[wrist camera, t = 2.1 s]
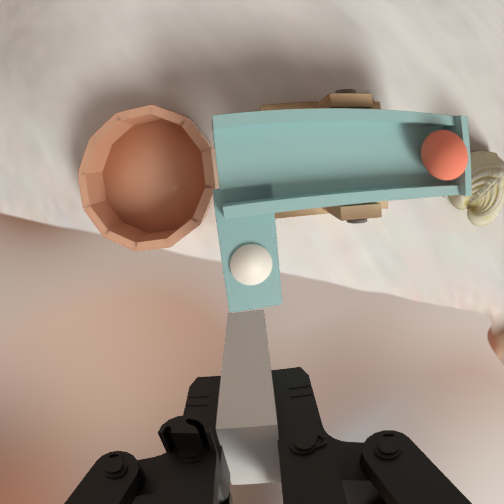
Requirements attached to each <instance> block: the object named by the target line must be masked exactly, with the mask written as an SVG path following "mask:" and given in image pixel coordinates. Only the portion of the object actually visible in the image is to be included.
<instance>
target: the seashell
mask: <svg viewBox="0 0 504 504" xmlns="http://www.w3.org/2000/svg"><path fill="white" fill-rule="evenodd" d="M470 157H471V184H472V196H463V195H451V196H448V198H449V200H450V202H451V203H452V205H453V206H455V207H456V208H457V209H460V210H464V209H467V208H468V211H467V216H468V219H469V220H470V222H471V223H472V224H474V225H476V226H486V225H488V224H489V223H491V222H492V221H493V220H494V219H495V218H496V217H497V215H498V214H499V212H500V210H501V207H502V205H503V203H504V162H503V160H502V159H501V158H500V157H498V155H497V154H496V153H494V152H488V151H487V152H485V151H474V152H471V153H470Z"/></svg>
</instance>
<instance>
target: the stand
mask: <svg viewBox="0 0 504 504" xmlns="http://www.w3.org/2000/svg"><path fill="white" fill-rule="evenodd" d="M260 107H261V111H268V110H286V109H318V108H348V109H380V102H373V101H372V94H358V93H356V90H352V89H344V90H338V91H335V93H330V94H328V95H327V96H326V97H325V98H323V99H322V100H321V101H320V102H300V103H283V104H269V105H261V106H260ZM380 110H381V109H380ZM385 208H388V201H379V202H369V203H359V204H349V205H339V206H330V207H321V208H312V209H303V210H294V211H286V212H278V213H274V215H275V218H285V217H295V216H305V215H316V214H326V213H330V214H332V215H333V216H335V217H336V218H338V219H340V220H341V221H344V220H347V222H348V223H364V222H367V218H377V217H382V216H381V209H385Z"/></svg>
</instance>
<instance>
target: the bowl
mask: <svg viewBox="0 0 504 504" xmlns="http://www.w3.org/2000/svg"><path fill="white" fill-rule="evenodd" d="M78 179H79V186H80V193H81V199H82V205H83V208H84V211H85V212H86V214H87V215H88V216H89V218H90V219H91V221H92V222H93V223H94V225H95V226H96V227H97V229H98V230H99V231H100V233H101V234H102V235H103V237H105V238H107V239H109V240H111V241H113V242H116V243H118V244H120V245H122V246H124V247H127V248H129V249H131V250H133V251H143V250H150V249H160V248H168V247H171V246H173V245H174V244H175V243H177V242H178V241H179V240H180V239H182V238H183V237H184V236H186V235H187V234H188V233H190V232H191V231H192V230H193V229H195V228H196V227H197V226H199V225H200V224H201V222H202V221H203V220H204V218H205V217H206V215H207V213H208V210H209V208H210V206H211V203H212V201H213V191H212V189H218V187H219V181H218V172H217V164H216V155H215V149H214V147H213V146H212V145H211V143H210V142H209V141H208V139H207V138H206V136H205V135H204V134H203V133H202V132H201V130H200V129H199V128H198V127H197V125H196V124H195V123H194V122H193V121H191V120H190V119H189V118H187V117H185V116H183V115H180V114H177V113H174V112H172V111H169V110H166V109H163V108H160V107H157V106H154V105H148V106H144V107H139V108H135V109H131V110H126V111H122V112H118V113H116V114H115V115H114V116H112V117H111V118H110V119H109V120H108V121H107V122H106V123H105V124H104V125H103V126H102V127H101V128H100V129H99V130H98V131H96V132H95V133H94V134H93V135H92V136H91V137H90V139H89V141H88V144H87V147H86V150H85V153H84V156H83V159H82V162H81V165H80V168H79V171H78Z"/></svg>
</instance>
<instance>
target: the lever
mask: <svg viewBox="0 0 504 504" xmlns="http://www.w3.org/2000/svg"><path fill="white" fill-rule="evenodd" d="M212 129H213V138H214V146H215V155H216V164H217V172H218V181H219V189H212V191H213V199H214V206H215V214H216V222H217V229H218V237H219V244H220V251H221V259H222V265H223V273H224V280H225V286H226V293H227V300H228V307H229V312H230V313H232V312H239V311H245V310H251V309H258V308H264V307H270V306H276V305H282V294H281V283H280V270H279V259H278V247H277V236H276V226H275V215H274V213H278V212H286V211H294V210H303V209H312V208H321V207H330V206H339V205H349V204H359V203H369V202H379V201H390V200H401V199H412V198H425V197H437V196H451V195H463V196H472V184H471V157H470V142H469V131H468V121H467V116H449V115H441V114H432V113H422V112H410V111H397V110H380V109H348V108H318V109H286V110H268V111H254V112H242V113H231V114H222V115H213V116H212ZM437 130H448V131H451V132H453V133H455V134H456V135H458V136H459V137H460V138H461V139H462V141H463V142H464V144H465V146H466V148H467V152H468V163H467V166H466V169H465V170H464V172H463V173H462V174H461V175H460V176H459V177H457V178H455V179H453V180H441V179H438V178H436V177H434V176H433V175H431V174H430V173H429V172H428V171H427V169H426V168H425V166H424V164H423V162H422V158H421V148H422V144H423V142H424V140H425V138H426V137H427V136H428V135H429V134H430V133H432V132H434V131H437Z"/></svg>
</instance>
